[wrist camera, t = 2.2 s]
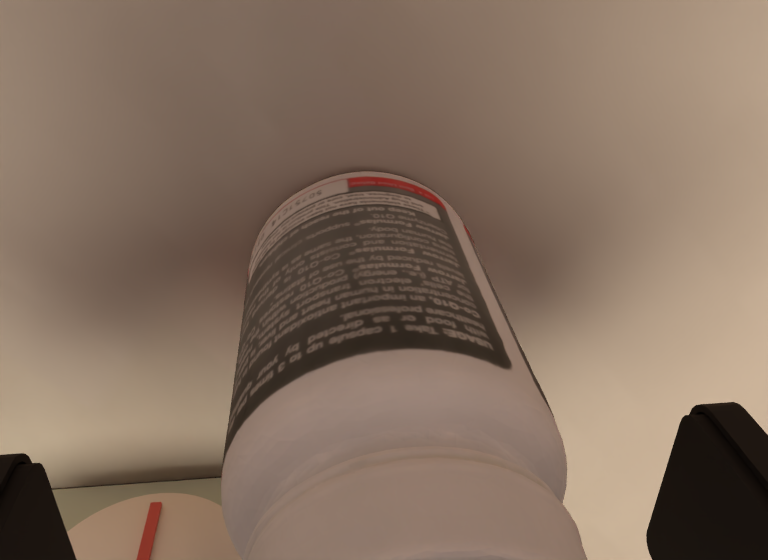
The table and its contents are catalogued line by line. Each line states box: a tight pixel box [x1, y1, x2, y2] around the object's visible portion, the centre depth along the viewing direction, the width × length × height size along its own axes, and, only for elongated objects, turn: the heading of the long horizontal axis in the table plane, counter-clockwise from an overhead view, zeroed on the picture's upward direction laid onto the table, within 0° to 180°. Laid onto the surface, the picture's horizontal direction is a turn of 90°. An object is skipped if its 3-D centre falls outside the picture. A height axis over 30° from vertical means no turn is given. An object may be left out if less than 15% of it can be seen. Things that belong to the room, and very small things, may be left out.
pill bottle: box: [221, 171, 587, 560], centre depth 10 cm, size 5×5×8 cm
